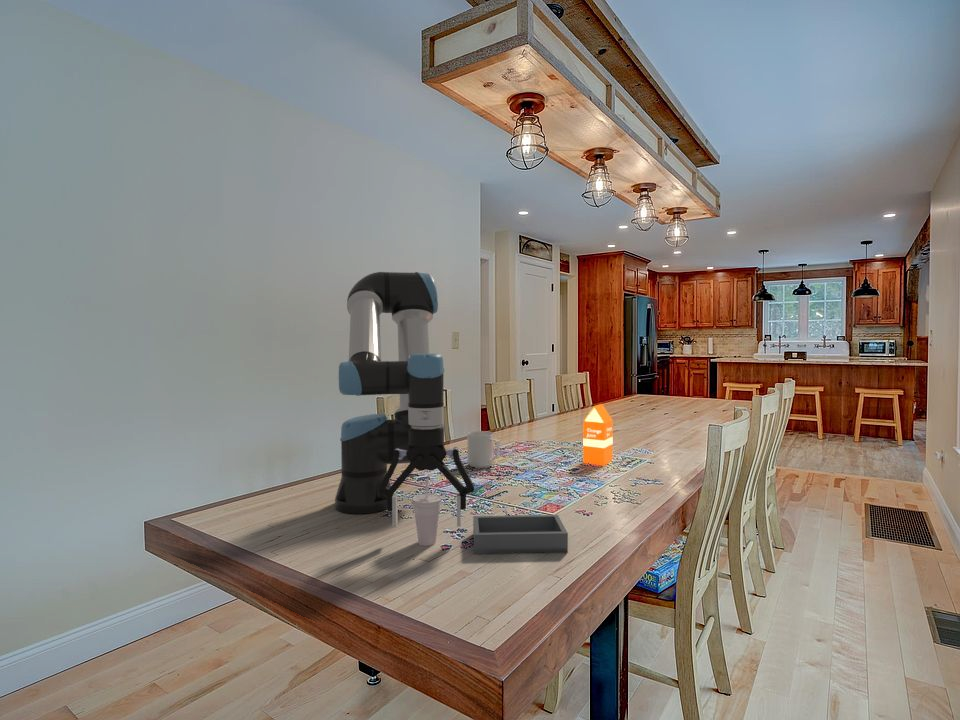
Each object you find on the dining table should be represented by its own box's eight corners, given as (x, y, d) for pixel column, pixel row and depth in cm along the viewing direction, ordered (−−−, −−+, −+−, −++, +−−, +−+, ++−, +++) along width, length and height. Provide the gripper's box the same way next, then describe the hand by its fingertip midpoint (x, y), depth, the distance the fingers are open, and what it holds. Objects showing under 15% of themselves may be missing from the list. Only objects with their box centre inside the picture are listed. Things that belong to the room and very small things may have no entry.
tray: (473, 533, 118) (473, 516, 118) (557, 532, 119) (557, 514, 118) (474, 554, 107) (474, 534, 107) (567, 552, 108) (567, 533, 107)
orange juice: (612, 460, 187) (613, 404, 186) (604, 465, 179) (604, 407, 178) (591, 457, 191) (591, 402, 190) (582, 462, 183) (582, 405, 182)
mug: (462, 466, 179) (462, 434, 178) (477, 461, 186) (477, 430, 185) (491, 472, 171) (491, 438, 171) (506, 466, 179) (506, 433, 178)
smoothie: (414, 550, 109) (413, 483, 109) (410, 538, 115) (409, 475, 115) (444, 546, 111) (444, 480, 110) (439, 535, 117) (438, 473, 116)
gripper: (363, 429, 108) (365, 532, 109) (485, 428, 109) (486, 530, 110) (370, 423, 115) (371, 519, 116) (484, 422, 116) (484, 517, 117)
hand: (427, 525), depth 113 cm, fingers open, 13 cm apart
